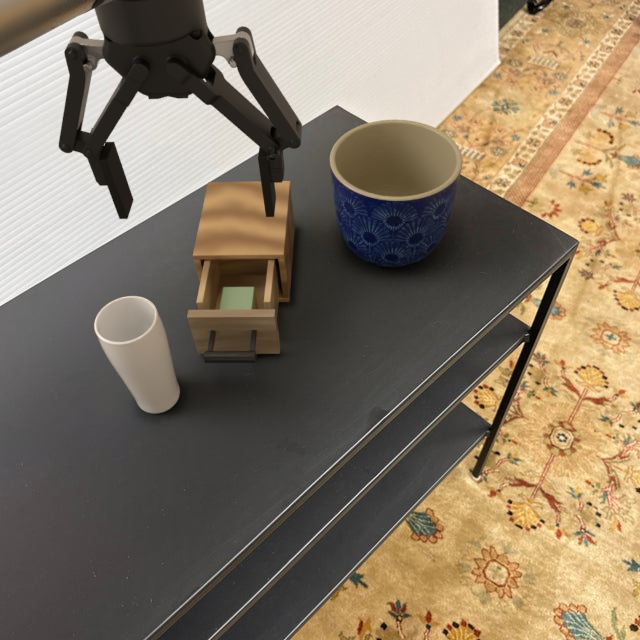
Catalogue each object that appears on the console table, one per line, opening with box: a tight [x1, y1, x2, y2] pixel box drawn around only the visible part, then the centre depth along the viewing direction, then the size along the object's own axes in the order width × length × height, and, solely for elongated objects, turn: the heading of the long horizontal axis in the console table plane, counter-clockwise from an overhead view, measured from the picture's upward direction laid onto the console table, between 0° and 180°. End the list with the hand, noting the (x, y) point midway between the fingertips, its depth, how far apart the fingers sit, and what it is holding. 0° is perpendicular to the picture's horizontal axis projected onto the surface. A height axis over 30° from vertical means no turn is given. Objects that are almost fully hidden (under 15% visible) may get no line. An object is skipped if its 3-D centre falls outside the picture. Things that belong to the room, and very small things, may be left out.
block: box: [220, 287, 258, 310], centre depth 82 cm, size 4×4×4 cm
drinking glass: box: [93, 295, 181, 415], centre depth 73 cm, size 7×7×15 cm
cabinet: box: [192, 180, 296, 303], centre depth 89 cm, size 15×12×9 cm
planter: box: [329, 119, 463, 268], centre depth 89 cm, size 17×17×15 cm
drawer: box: [186, 259, 282, 364], centre depth 82 cm, size 18×10×7 cm, turn 179°
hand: (198, 208), depth 60 cm, fingers open, 13 cm apart
